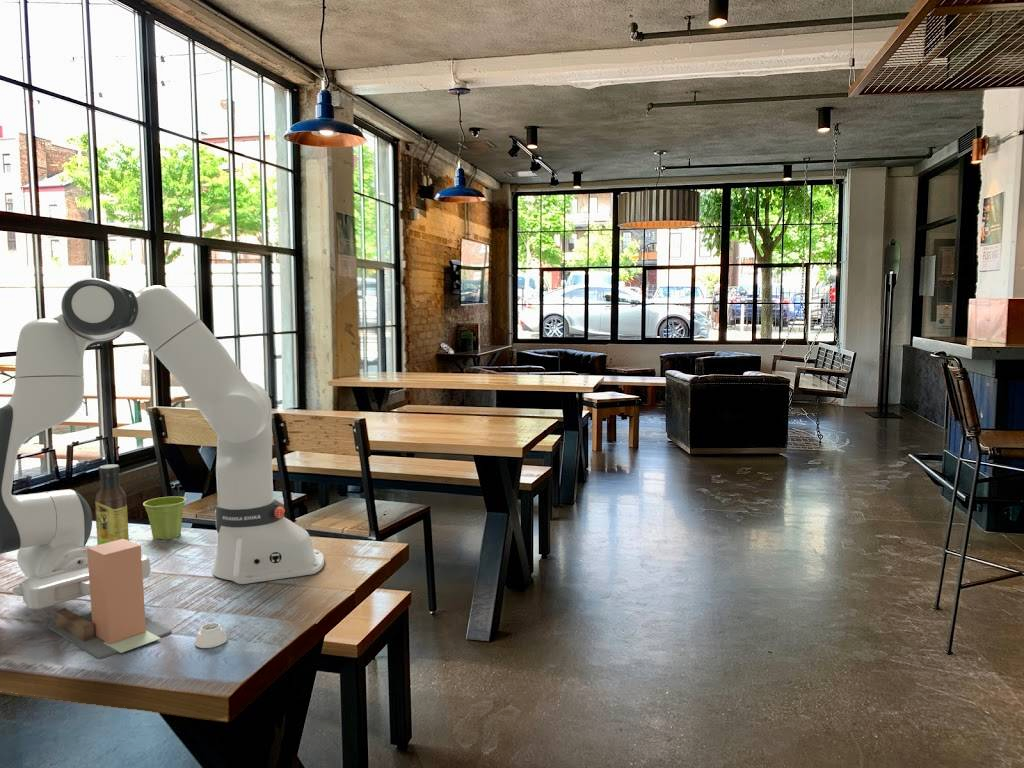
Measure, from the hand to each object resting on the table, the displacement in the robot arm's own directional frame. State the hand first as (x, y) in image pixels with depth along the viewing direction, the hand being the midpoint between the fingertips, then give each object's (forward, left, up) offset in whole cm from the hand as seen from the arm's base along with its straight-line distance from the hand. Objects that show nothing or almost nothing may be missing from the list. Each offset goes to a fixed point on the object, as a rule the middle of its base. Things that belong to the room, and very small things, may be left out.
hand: (108, 589), depth 132 cm
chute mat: (0, 0, -8) cm, 8 cm away
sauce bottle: (+12, -45, -8) cm, 47 cm away
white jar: (-17, +8, -8) cm, 21 cm away
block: (-2, +2, -8) cm, 8 cm away
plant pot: (+3, -55, -8) cm, 56 cm away
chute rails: (+3, -3, -8) cm, 9 cm away
